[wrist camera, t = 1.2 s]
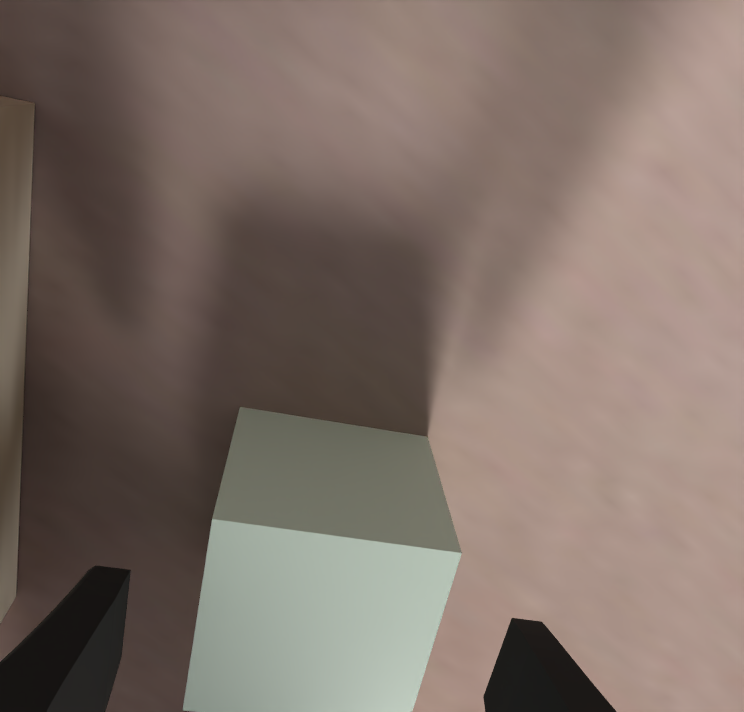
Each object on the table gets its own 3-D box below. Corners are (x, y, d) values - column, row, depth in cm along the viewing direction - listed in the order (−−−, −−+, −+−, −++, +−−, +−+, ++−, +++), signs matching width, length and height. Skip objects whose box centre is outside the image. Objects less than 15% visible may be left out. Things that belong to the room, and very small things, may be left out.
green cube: (386, 583, 18) (405, 732, 14) (215, 561, 18) (182, 710, 14) (427, 435, 17) (461, 553, 13) (240, 405, 16) (212, 519, 12)
